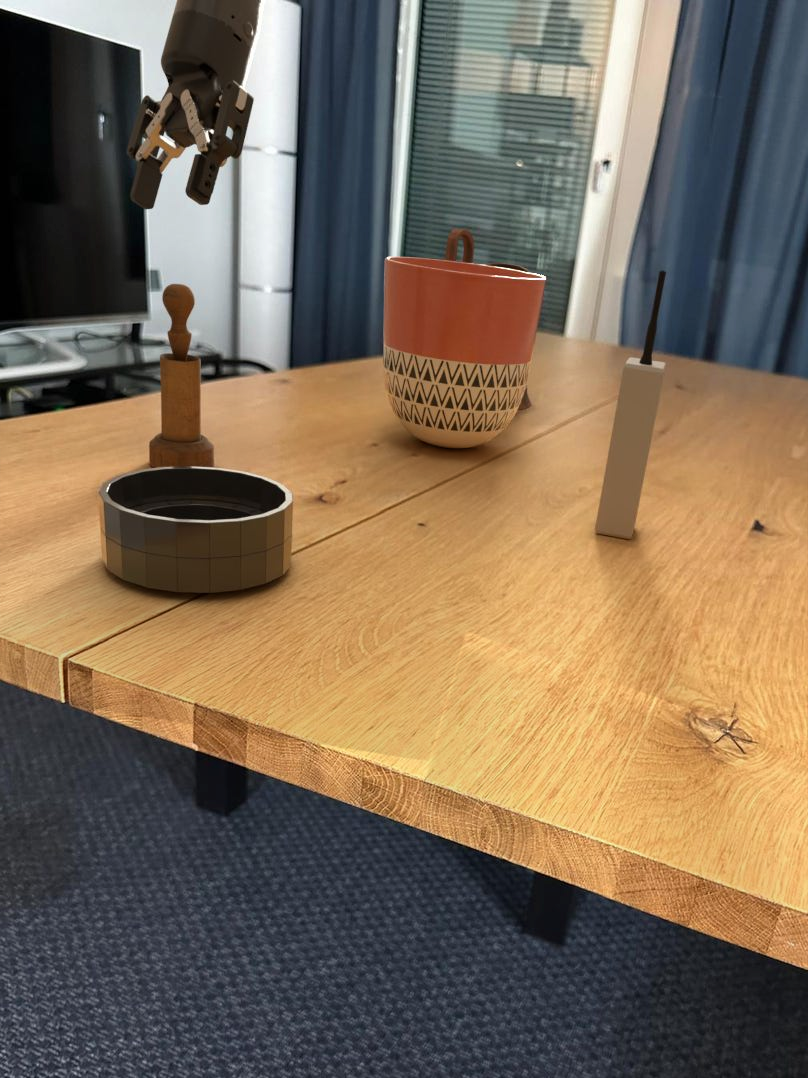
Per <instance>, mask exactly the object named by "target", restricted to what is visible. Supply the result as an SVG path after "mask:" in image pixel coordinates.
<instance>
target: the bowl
mask: <svg viewBox="0 0 808 1078" xmlns="http://www.w3.org/2000/svg"><path fill="white" fill-rule="evenodd" d="M97 496H98V497H97V498H98V515H99V531H100V547H101V560H102V563H104V566H105V568H106V569H107V570H106V571H108V572H110V573H112V574H113V575H115V576H116V577H118V578H120V579H121V580H123V581H125V582H129V583H132V584H135V585H137V586H138V585H139V586H141V587H144V588H148V589H154V590H161V591H165V592H174V593H187V594H215V593H226V592H232V591H233V592H234V591H235V592H236V591H241V590H242V591H243V590H245V589H246V590H247V589H251V588H253V587H258V586H262V585H265V584H268V583H270V582H272V581H274V580H276V579H279V578H280V577H282V576H284V575H285V573H286V572H287V571H288V570H289V569H290V567H291V566H292V552H293V551H292V549H293V547H292V546H293V519H294V498H293V492H292V491H291V490H290V489H288V488H287V486H285V485H284V484H282V483H280V482H278V481H276V480H273V479H271V478H270V477H267V476H263V475H259V474H255V473H251V472H247V471H243V470H236V469H229V468H221V467H213V468H212V467H194V466H181V467H158V468H154V467H151V468H144V469H143V468H142V469H137V470H133V471H129V472H125V473H122V474H121V473H120V474H118V475H115V476H112V477H111V478H109V479H108V480H106V481H103V482H102V484H101V486H100V487H99V490H98V491H97Z"/></svg>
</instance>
